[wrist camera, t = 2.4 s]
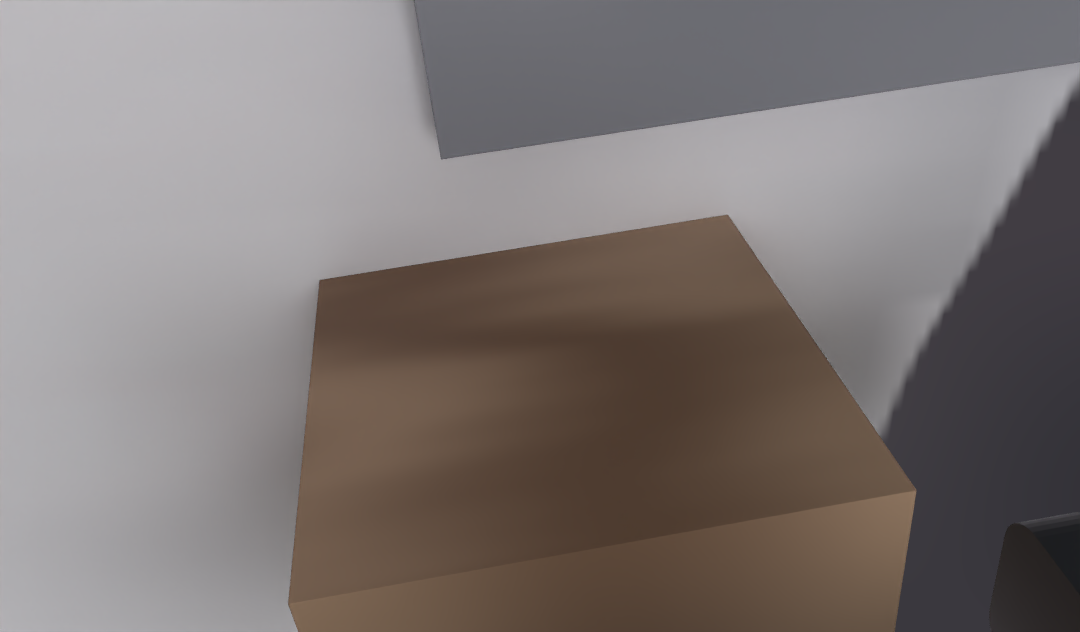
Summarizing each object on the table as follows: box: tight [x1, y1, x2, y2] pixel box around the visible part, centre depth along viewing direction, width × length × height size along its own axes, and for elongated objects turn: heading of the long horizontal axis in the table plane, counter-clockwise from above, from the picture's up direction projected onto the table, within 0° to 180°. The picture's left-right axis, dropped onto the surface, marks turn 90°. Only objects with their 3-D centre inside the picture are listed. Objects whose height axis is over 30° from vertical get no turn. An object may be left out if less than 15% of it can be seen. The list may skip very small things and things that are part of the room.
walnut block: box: [288, 215, 916, 632], centre depth 13 cm, size 6×6×6 cm
